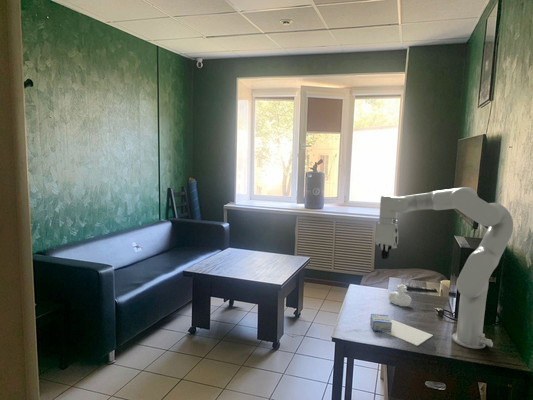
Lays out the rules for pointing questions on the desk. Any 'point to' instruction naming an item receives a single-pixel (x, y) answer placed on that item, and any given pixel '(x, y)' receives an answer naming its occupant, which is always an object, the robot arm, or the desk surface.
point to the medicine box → (381, 323)
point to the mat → (408, 333)
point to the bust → (400, 296)
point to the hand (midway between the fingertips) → (384, 258)
